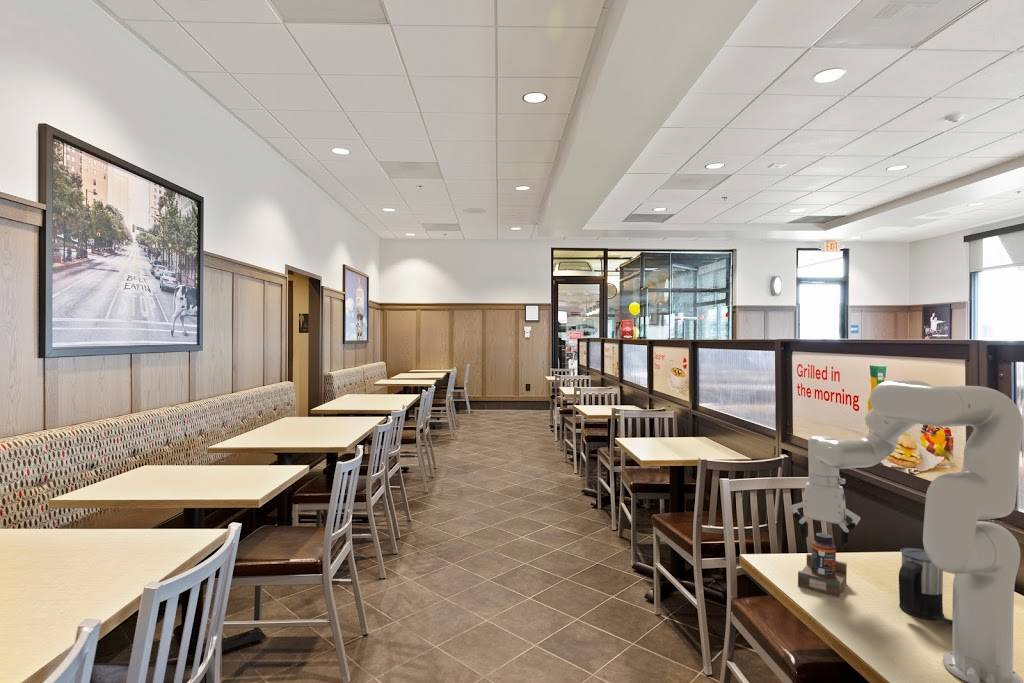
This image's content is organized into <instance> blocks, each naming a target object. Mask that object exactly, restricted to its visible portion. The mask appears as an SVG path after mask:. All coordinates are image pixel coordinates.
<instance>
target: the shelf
mask: <svg viewBox="0 0 1024 683" xmlns="http://www.w3.org/2000/svg"><path fill="white" fill-rule="evenodd" d="M811 559H812V553H807V554H806V565H804V567H803V569H802V570H798V572H797V587H800V588H803V589H806V590H810V591H813V590H814V591H813V592H817V591H818V593H820V592H821V594H824V595H827V594H828V596H831V595H832V596H831V597H835V596H836V597H835V598H838V597H839V598H840V596H841V595H840V594H842V593H843V591H844V589H845V588H844V587H846V585H847V578H848V577H847V575H848V574H847V567H848V566H847V562H844V561H840V560H836V566H835V567H836V568H835V577H834V578H831V579H829V578H825V577H821V576H817V575H814V574H813V573H812V571H811Z"/></svg>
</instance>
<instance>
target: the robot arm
mask: <svg viewBox="0 0 1024 683" xmlns="http://www.w3.org/2000/svg"><path fill="white" fill-rule="evenodd" d="M869 402H870V406H871V409H869V411H867V413H865V417H864V421H865V424H866V425H865V426H866V427H867V428H868V430H869V431H870V433H868V434H867V435H866V436H864V437H863V438H860V439H859V438H858V439H857V438H855V439H840V440H839V439H837V438H835V437H831V436H829V435H827V436H826V435H813V436H811V437H809V438H808V441H807V445H808V446H807V448H808V449H807V450H808V451H807V452H808V461H807V463H808V481H807V482H806V484H805V488H804V494H803V501H801V502H798V503H794V504H792V505H790V506H789V509H790V510H791V512H792V514H793V516H794V517H795V518H796V520H797V521H798V522H799V524H800V534H801V535H802V539H806V538H808V537H809V523H808V520H814V521H817V522H818V521H819V522H824V523H829V524H836V525H838V526H839V527H840V529H842V531H841V546H842V547H844V548H845V547H846V546H847V544H849V543H850V532H851V530H853V529H854V528H856V526H857V525H858V524H859V522H860V520H861V517H860V516H859V515H858V514H856V513H854V512H852V511H851V510H850V509H848V508H846V496H845V492H844V488H843V486H841V485H843V484H844V485H846V479H845V478H841V476H840V469H841V470H842V469H844V470H845V469H857V468H869V467H874V466H876V465H877V464H879V463H881V462H882V461H884V460H886V458H888V457H889V456H890V455H892V454H893V453H894V452H895V451H896V449H897V447H898V444H899V438H900V437H901V436H902V435H904V434H906V433H907V431H909V430H910V429H912V428H913V427H914V426H916V425H918V424H919V425H924V426H930V427H941V428H946V427H948V428H949V427H968V426H971V427H972V428H973V431H972V432H971V434H970V436H968V439H967V440H966V442H965V445H964V449H963V461H962V466H961V467H962V468H961V470H960V471H959V472H948V473H943V474H941V475H938V476H937V477H935V478H934V479H933V480H932V481H931V483H930V484H929V485H928V488H927V491H926V495H925V502H924V503H925V505H924V518H923V532H922V543H923V550H925V552H926V555H927V557H928V558H929V560H930V561H931V562H932V564H934V565H935V566H936V567H937V568H939V569H940V570H942V571H943V573H944V572H945V573H947V574H953V575H954V577H953V582H952V619H951V620H952V624H951V626H952V629H951V630H952V632H951V633H952V637H951V639H952V641H951V643H952V645H951V651H949V652H946V653H944V654H943V655H942V663H943V666H944V667H945V669H946V670H947V671H949V672H950V673H951V674H952V675H954V676H955V677H957V679H961V680H962V681H964V682H966V683H1024V681H1023V678H1022V677H1021V676H1020V675H1019V674H1018V673H1017V672H1016V671H1015V670H1014V606H1015V605H1014V603H1015V584H1016V578H1017V574H1018V571H1019V567H1020V562H1021V548H1020V544H1019V542H1018V540H1017V538H1016V537H1015V536H1014V534H1013V533H1012V532H1011V531H1009V530H1008V529H1007V528H1006V527H1004V526H1002V525H1000V524H997V523H995V522H991V521H985V520H992V519H993V520H995V519H1000V518H1005V517H1007V516H1009V515H1010V514H1011V513H1013V512H1014V509H1015V506H1016V502H1017V489H1018V488H1017V487H1018V477H1019V467H1020V466H1019V462H1020V452H1021V445H1022V441H1023V436H1024V419H1023V415H1022V413H1021V411H1020V409H1019V407H1018V406H1017V404H1016V403H1015V402H1014V400H1012V399H1011V398H1010V397H1009V396H1008V395H1006V394H1005V393H1003V392H1001V391H999V390H996V389H994V388H991V387H986V386H979V385H954V386H953V385H952V386H948V385H945V386H942V385H941V386H935V385H934V386H933V385H931V384H930V383H927V382H926V381H921V380H910V379H909V380H907V379H906V380H888V381H883V382H880V383H878V384H877V385H876V386H875V387H874V388H873V389H872V390H871V392H870V398H869ZM801 508H803V509H802V511H803V514H801V512H799V510H798V509H801ZM847 516H848V517H849V518H851V520H852V521H851V522H850V523H847V521H846V519H847Z"/></svg>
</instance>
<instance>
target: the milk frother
mask: <svg viewBox="0 0 1024 683" xmlns="http://www.w3.org/2000/svg"><path fill="white" fill-rule="evenodd" d="M899 551H900V553H901V566H900V568H899V572H898V593H899V597H898V598H899V599H898V600H899V604H898V606H899V608H900V609H901V610H902V611H904V612H905V613H907V614H910V615H912V616H914V617H917V618H920V619H925V620H931V621H939V622H942V623H946V624H949V625H952V619H949V618H945V615H944V609H943V608H944V606H943V601H944V600H943V596H944V594H943V588H944V585H943V583H944V580H943V579H944V571H942V570H940V569H939V568H937V567H936V566H935V565H934V564H932V562H931V561H930V560H929V558H928V557H927V555H926V552H925V549H922V548H915V547H903V548H900V550H899Z"/></svg>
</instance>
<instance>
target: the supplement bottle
mask: <svg viewBox="0 0 1024 683" xmlns="http://www.w3.org/2000/svg"><path fill="white" fill-rule="evenodd" d="M836 549H837V548H836V545H835V544H834V543H833V536H832V535H831V534H828V533H823V532H816V534H815V540H814V539H813V541H812V542H811V555H812V559H811V571H812V573H813V574H814V575H817V576H821V577H825V578H829V579H831V578H834V577H835V568H836V567H835V566H836V561H837V560H836V559H837V558H836V555H837V550H836Z"/></svg>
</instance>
